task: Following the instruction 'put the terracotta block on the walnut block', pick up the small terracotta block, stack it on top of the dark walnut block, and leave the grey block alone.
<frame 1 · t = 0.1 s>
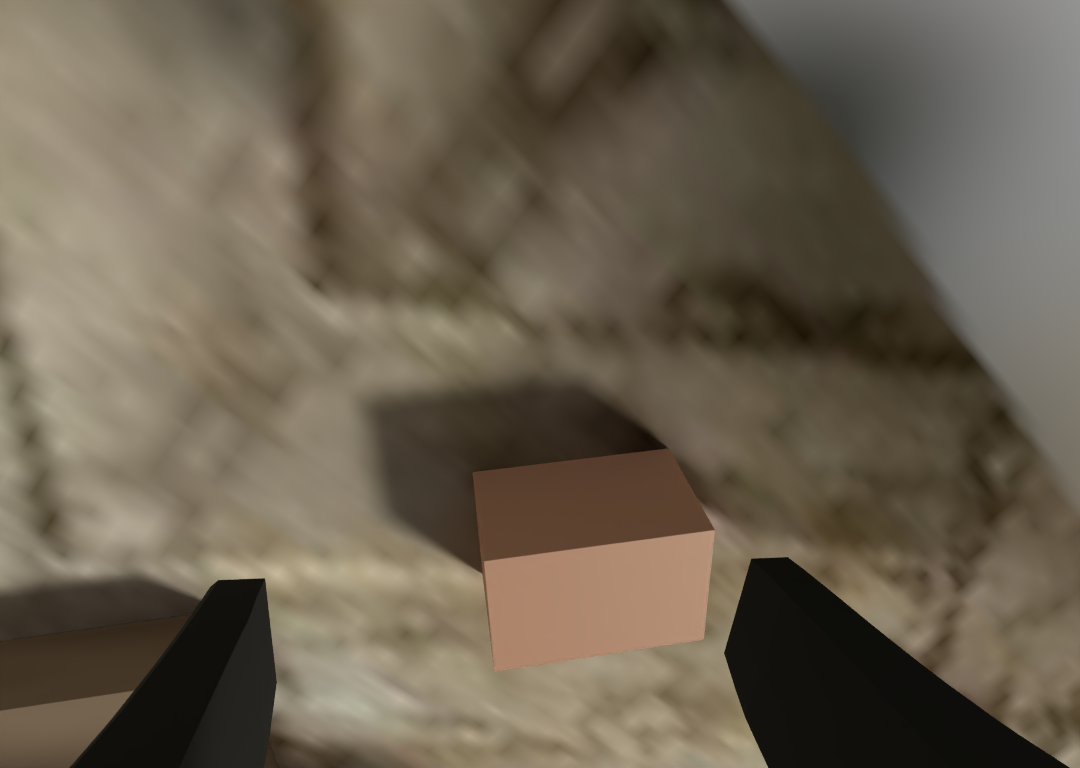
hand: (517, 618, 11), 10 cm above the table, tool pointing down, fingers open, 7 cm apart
walnut block: (132, 706, 24), on the table
terracotta block: (572, 510, 23), on the table
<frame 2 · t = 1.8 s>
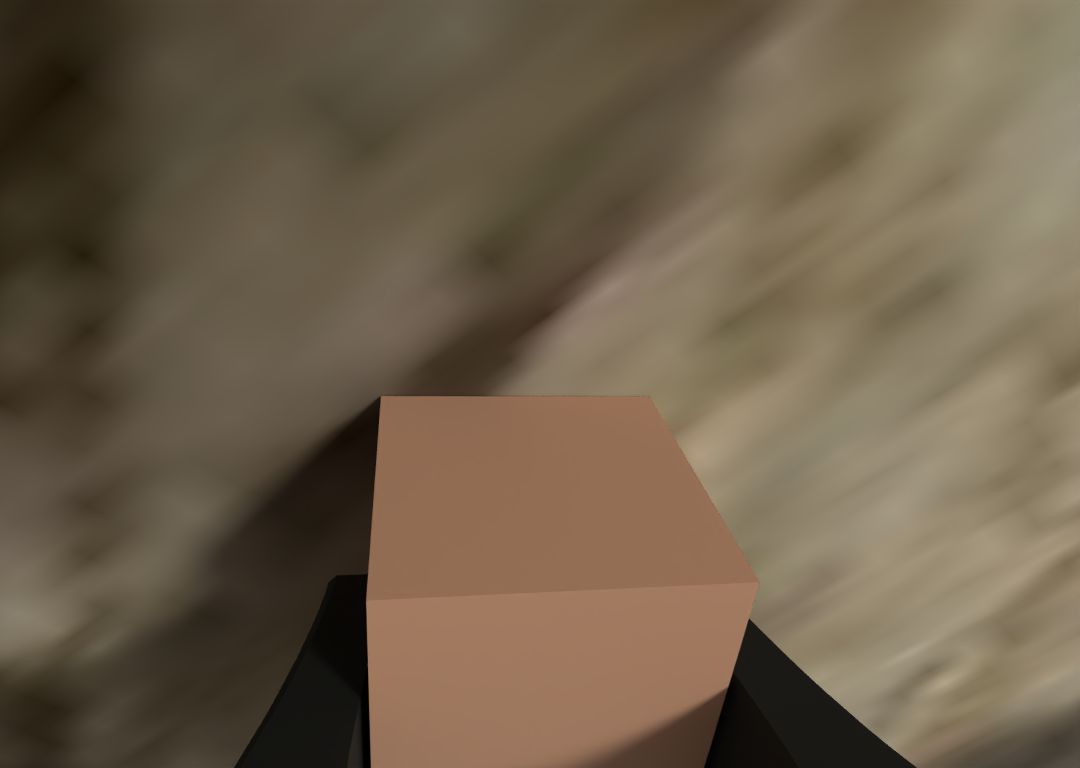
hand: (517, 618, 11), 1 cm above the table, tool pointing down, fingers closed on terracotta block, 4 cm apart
terracotta block: (506, 554, 12), on the table, touching gripper
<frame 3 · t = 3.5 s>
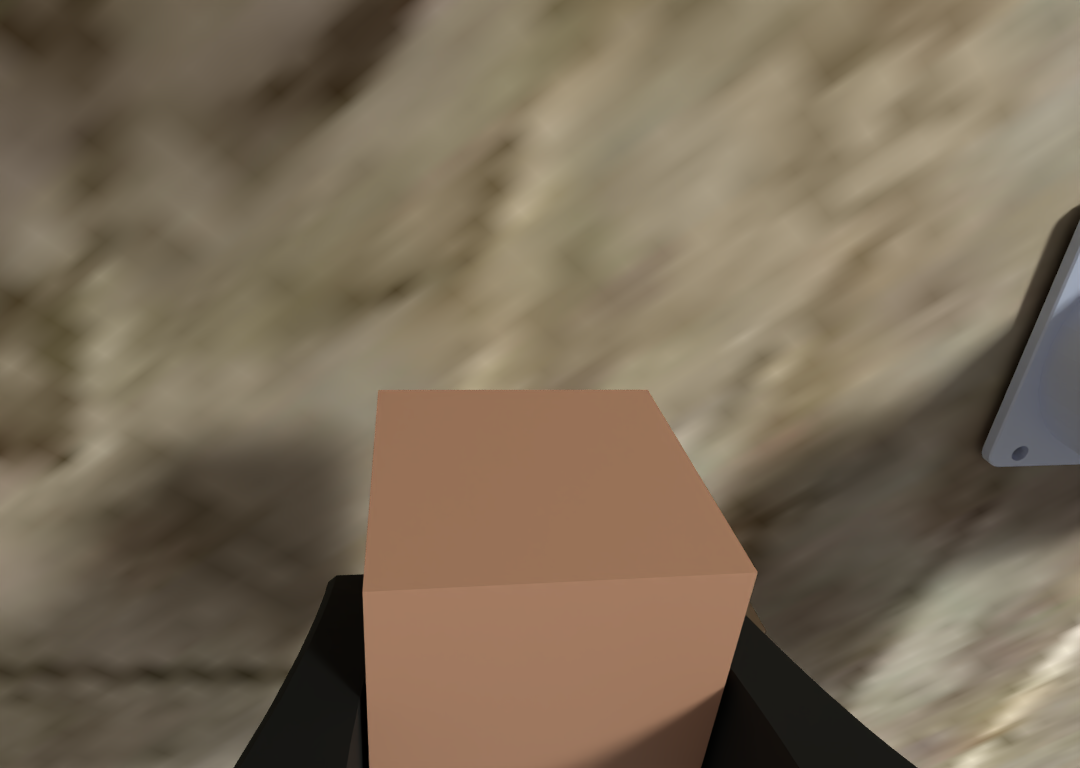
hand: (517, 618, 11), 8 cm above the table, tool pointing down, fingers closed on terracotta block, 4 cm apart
terracotta block: (505, 548, 12), point 7 cm above the table, touching gripper
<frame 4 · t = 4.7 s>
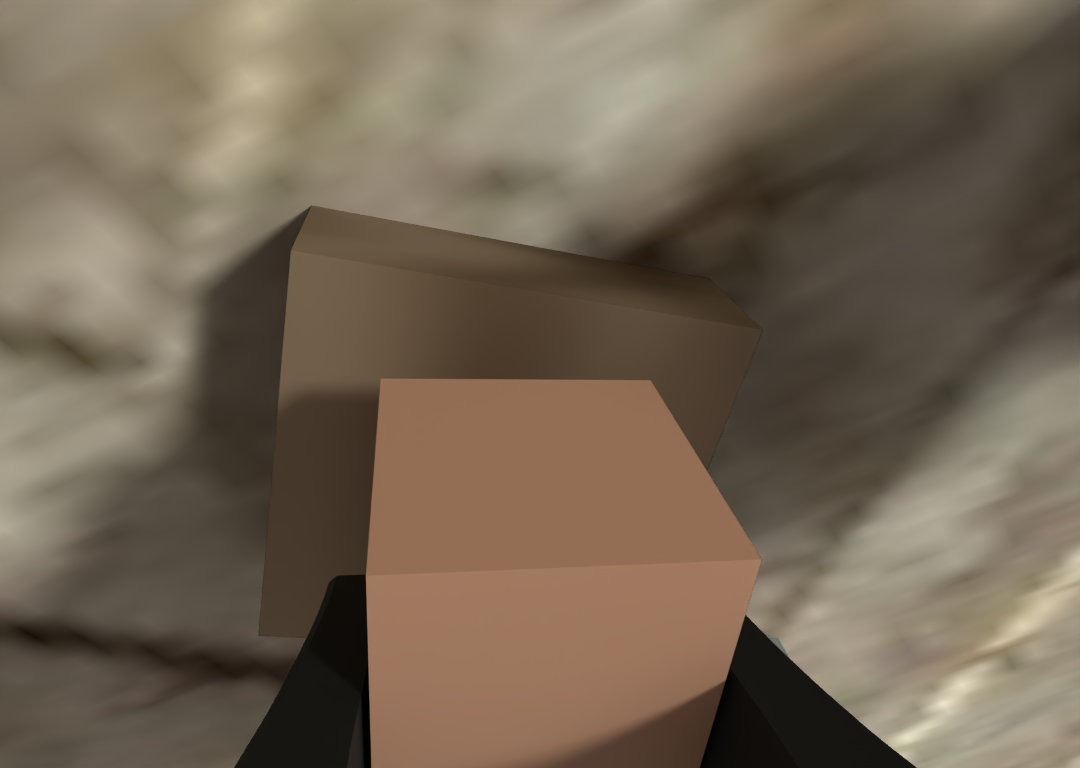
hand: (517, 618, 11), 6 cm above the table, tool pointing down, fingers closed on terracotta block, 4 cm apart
walnut block: (482, 410, 16), on the table
terracotta block: (506, 539, 12), point 4 cm above the table, touching gripper
when the fingers open (6 cm above the table, at t = 5.5 s): terracotta block drops 2 cm, resting on walnut block.
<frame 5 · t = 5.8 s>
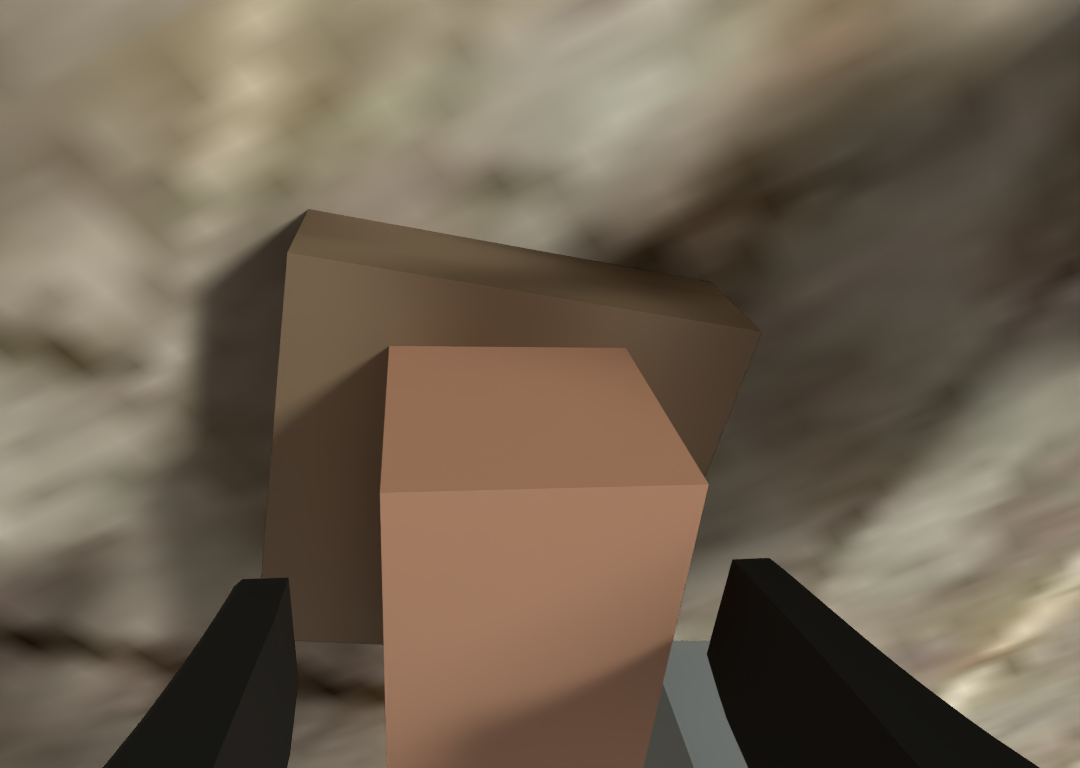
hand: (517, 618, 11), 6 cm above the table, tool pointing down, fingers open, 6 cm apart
walnut block: (481, 413, 16), on the table, touching terracotta block
grey block: (684, 710, 22), on the table
terracotta block: (500, 492, 14), point 2 cm above the table, touching walnut block
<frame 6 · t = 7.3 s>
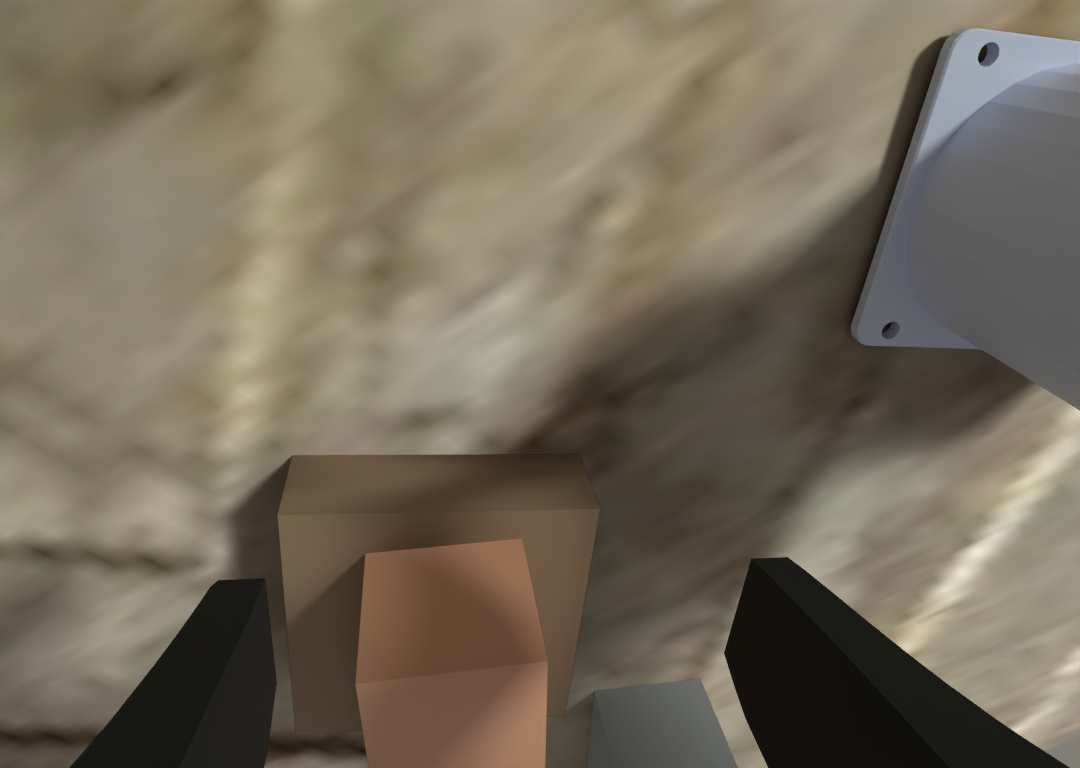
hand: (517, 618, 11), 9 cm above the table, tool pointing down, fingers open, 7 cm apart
walnut block: (435, 555, 23), on the table, touching terracotta block
grey block: (639, 735, 28), on the table
terracotta block: (450, 630, 20), point 3 cm above the table, touching walnut block
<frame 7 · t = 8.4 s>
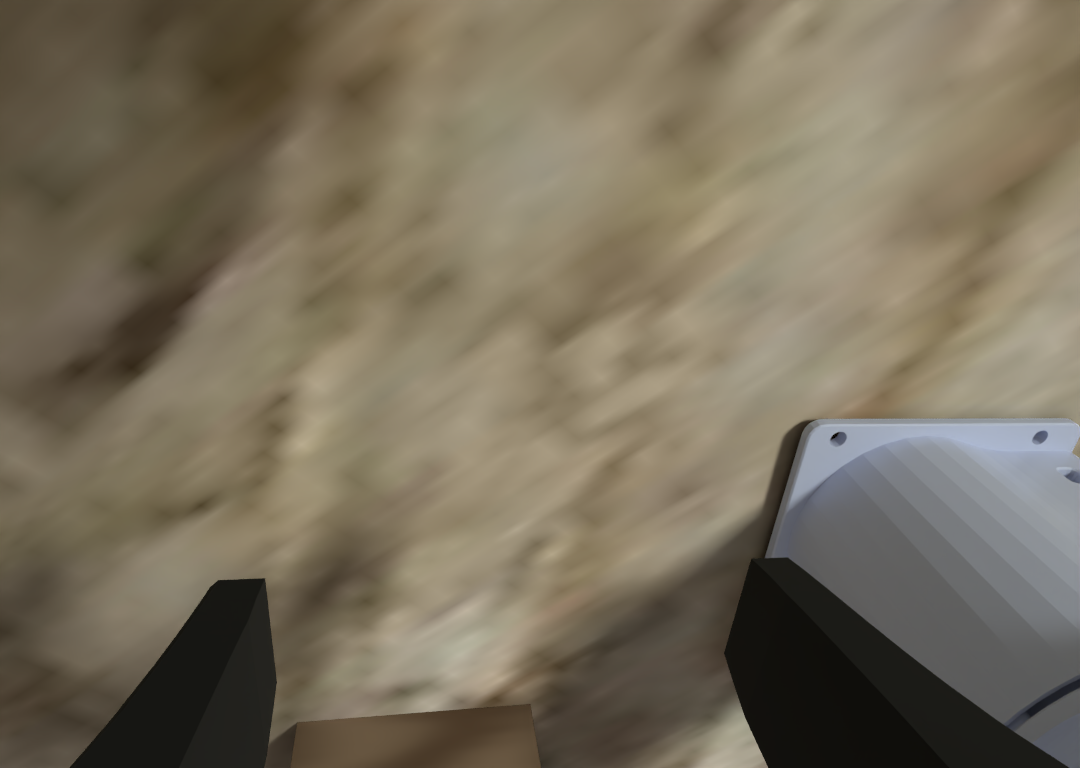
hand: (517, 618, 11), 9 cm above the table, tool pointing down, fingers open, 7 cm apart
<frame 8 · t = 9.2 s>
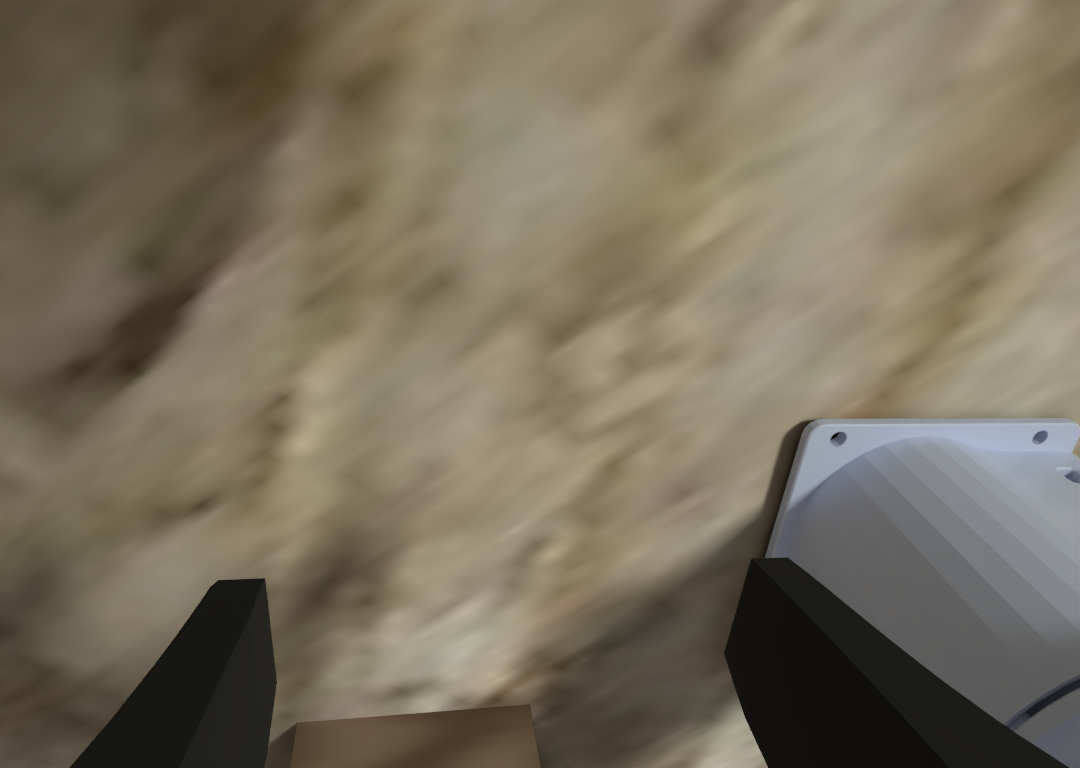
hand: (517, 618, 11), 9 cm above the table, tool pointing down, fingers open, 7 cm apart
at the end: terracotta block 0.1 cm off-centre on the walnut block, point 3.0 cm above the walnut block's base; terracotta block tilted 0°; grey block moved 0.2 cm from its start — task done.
